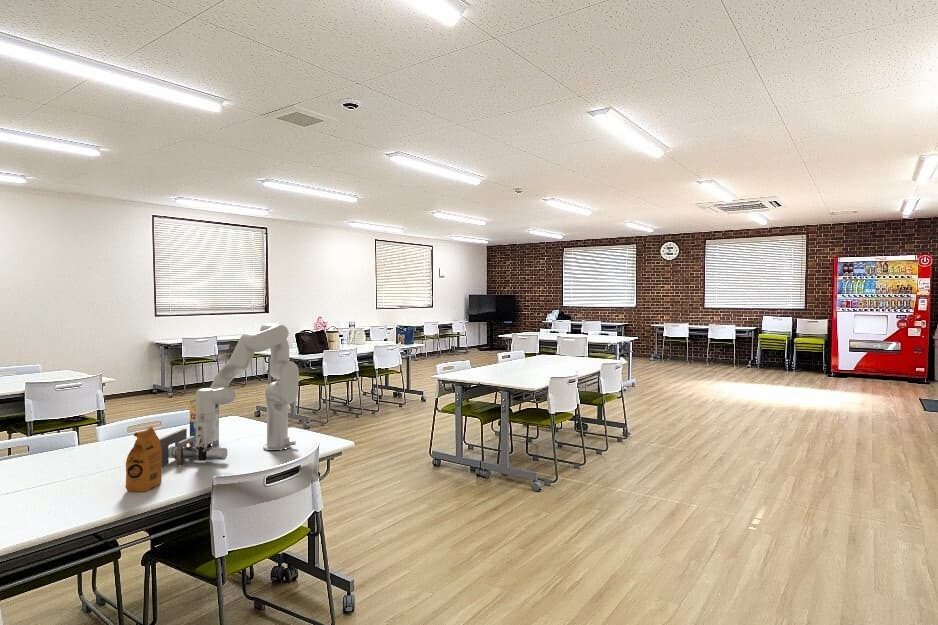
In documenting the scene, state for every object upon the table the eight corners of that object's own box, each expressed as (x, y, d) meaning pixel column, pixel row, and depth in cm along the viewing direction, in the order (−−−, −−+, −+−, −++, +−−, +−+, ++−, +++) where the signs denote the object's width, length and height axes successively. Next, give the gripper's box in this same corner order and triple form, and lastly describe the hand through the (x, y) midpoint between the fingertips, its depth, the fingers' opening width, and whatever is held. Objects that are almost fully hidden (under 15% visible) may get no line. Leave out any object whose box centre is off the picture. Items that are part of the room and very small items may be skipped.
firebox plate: (186, 454, 255) (186, 428, 254) (159, 468, 234) (159, 440, 234) (183, 454, 255) (183, 428, 254) (155, 468, 234) (155, 439, 234)
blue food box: (211, 447, 267) (211, 401, 266) (189, 446, 267) (189, 401, 267) (219, 443, 273) (219, 399, 273) (197, 443, 274) (197, 398, 273)
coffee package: (120, 492, 206) (120, 433, 205) (141, 481, 218) (140, 425, 218) (147, 493, 206) (147, 433, 205) (166, 481, 218) (166, 426, 217)
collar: (194, 458, 250) (195, 436, 249) (180, 465, 239) (180, 442, 238) (191, 457, 250) (191, 436, 249) (177, 465, 239) (177, 442, 238)
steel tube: (227, 458, 246) (227, 446, 246) (221, 461, 241) (221, 449, 241) (174, 456, 247) (174, 445, 247) (167, 459, 242) (167, 447, 242)
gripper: (203, 421, 234) (203, 464, 235) (223, 413, 251) (223, 453, 252) (186, 421, 235) (186, 464, 235) (207, 412, 252) (207, 452, 252)
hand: (205, 458), depth 244 cm, fingers closed on steel tube, 5 cm apart
